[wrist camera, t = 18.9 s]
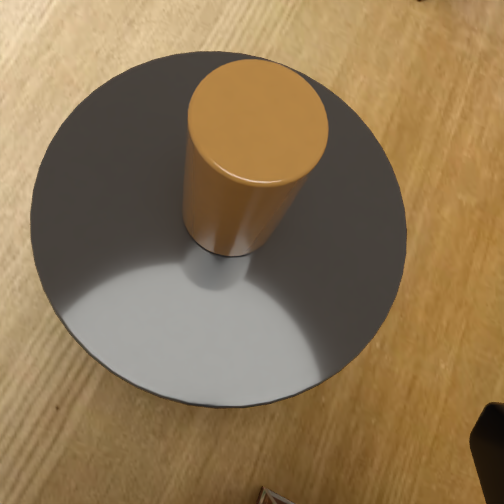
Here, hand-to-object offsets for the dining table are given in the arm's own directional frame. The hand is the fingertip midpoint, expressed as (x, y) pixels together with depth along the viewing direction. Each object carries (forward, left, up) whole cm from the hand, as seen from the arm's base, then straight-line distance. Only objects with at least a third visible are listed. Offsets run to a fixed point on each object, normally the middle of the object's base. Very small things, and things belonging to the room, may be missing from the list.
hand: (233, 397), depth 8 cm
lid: (+4, +3, -6) cm, 8 cm away
